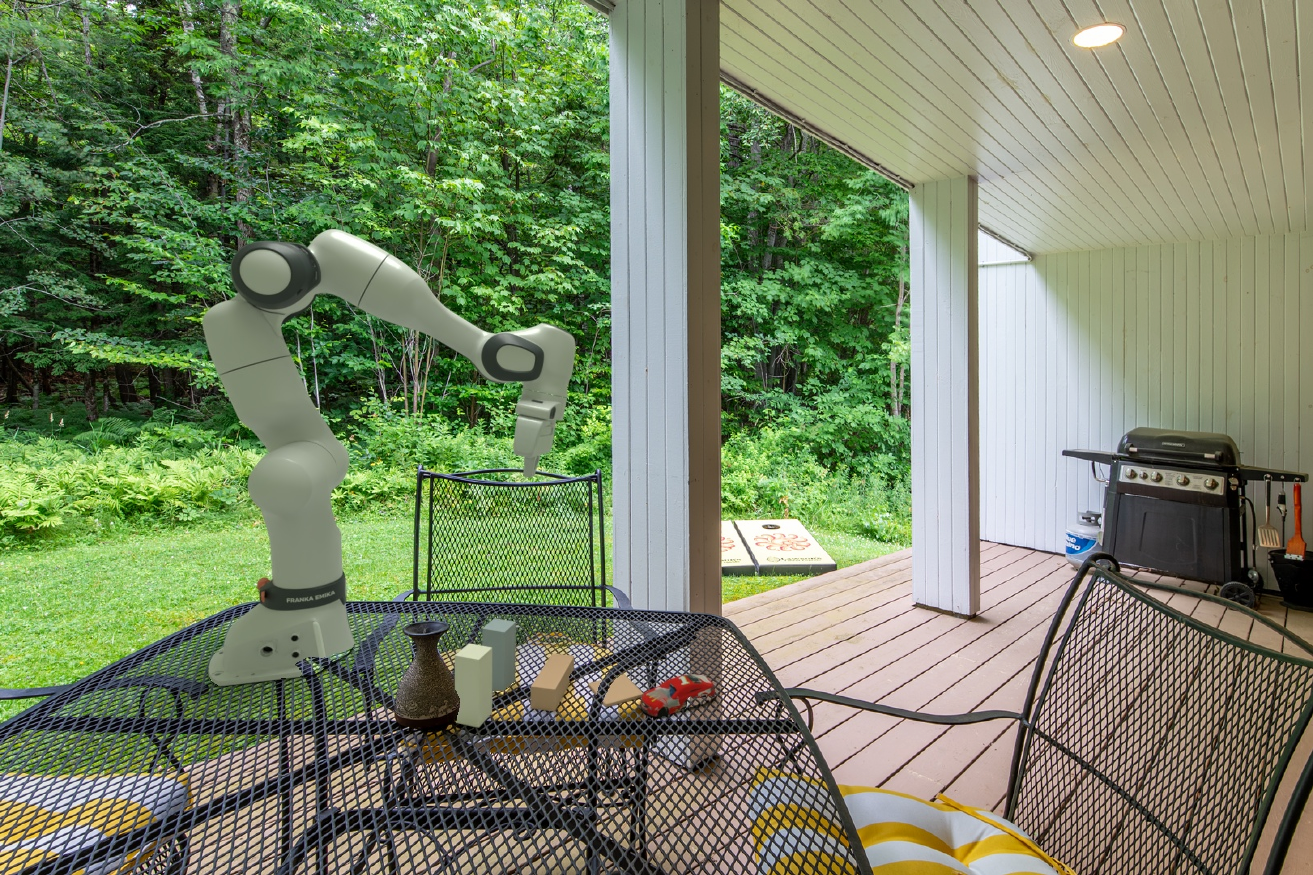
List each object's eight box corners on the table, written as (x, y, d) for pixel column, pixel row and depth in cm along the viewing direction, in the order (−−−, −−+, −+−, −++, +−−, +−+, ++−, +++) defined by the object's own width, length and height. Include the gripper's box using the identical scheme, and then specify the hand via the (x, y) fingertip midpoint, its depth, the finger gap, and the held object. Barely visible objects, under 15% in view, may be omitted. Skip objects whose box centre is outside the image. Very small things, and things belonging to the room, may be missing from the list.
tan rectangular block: (573, 677, 112) (554, 712, 101) (551, 674, 112) (530, 709, 101) (574, 655, 111) (555, 689, 100) (552, 653, 112) (530, 686, 101)
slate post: (503, 694, 105) (504, 632, 103) (482, 690, 106) (482, 628, 104) (515, 682, 109) (515, 622, 107) (494, 678, 110) (494, 618, 108)
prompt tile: (605, 707, 103) (605, 704, 102) (587, 686, 108) (588, 683, 108) (643, 696, 106) (643, 693, 106) (624, 676, 112) (624, 674, 112)
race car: (649, 723, 99) (650, 700, 99) (634, 705, 104) (635, 683, 103) (719, 703, 106) (720, 680, 105) (702, 686, 110) (703, 665, 110)
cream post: (478, 727, 96) (478, 659, 94) (455, 722, 97) (454, 655, 95) (491, 712, 100) (492, 647, 98) (469, 708, 101) (469, 643, 99)
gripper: (537, 405, 135) (524, 468, 136) (514, 403, 115) (499, 478, 115) (566, 411, 135) (553, 474, 136) (548, 410, 115) (533, 485, 115)
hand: (528, 476), depth 125 cm, fingers closed
